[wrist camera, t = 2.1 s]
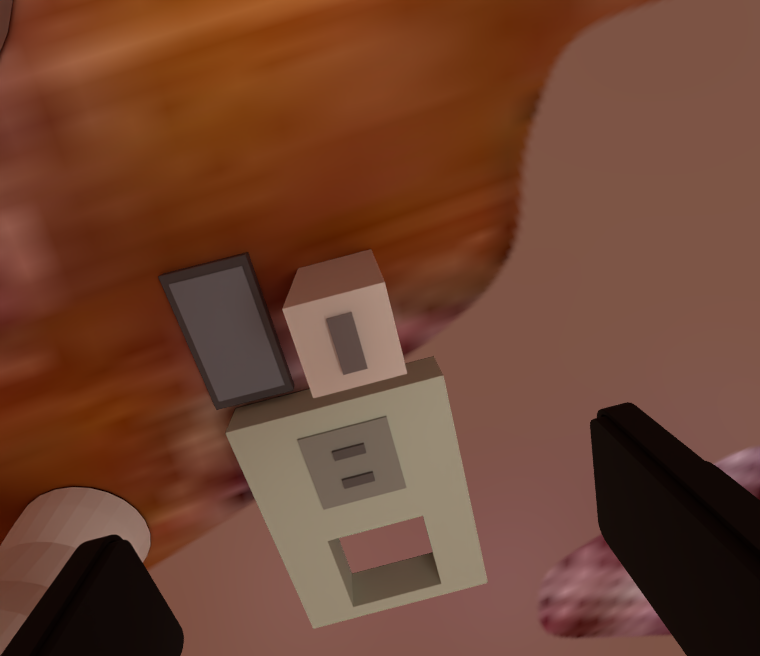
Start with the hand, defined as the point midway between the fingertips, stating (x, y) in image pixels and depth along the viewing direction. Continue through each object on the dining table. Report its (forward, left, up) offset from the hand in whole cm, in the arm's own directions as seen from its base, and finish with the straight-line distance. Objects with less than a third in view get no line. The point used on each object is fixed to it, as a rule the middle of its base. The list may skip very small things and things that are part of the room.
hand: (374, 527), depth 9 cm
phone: (0, -7, -17) cm, 18 cm away
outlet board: (+13, -2, -16) cm, 21 cm away
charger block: (0, 0, -16) cm, 16 cm away
